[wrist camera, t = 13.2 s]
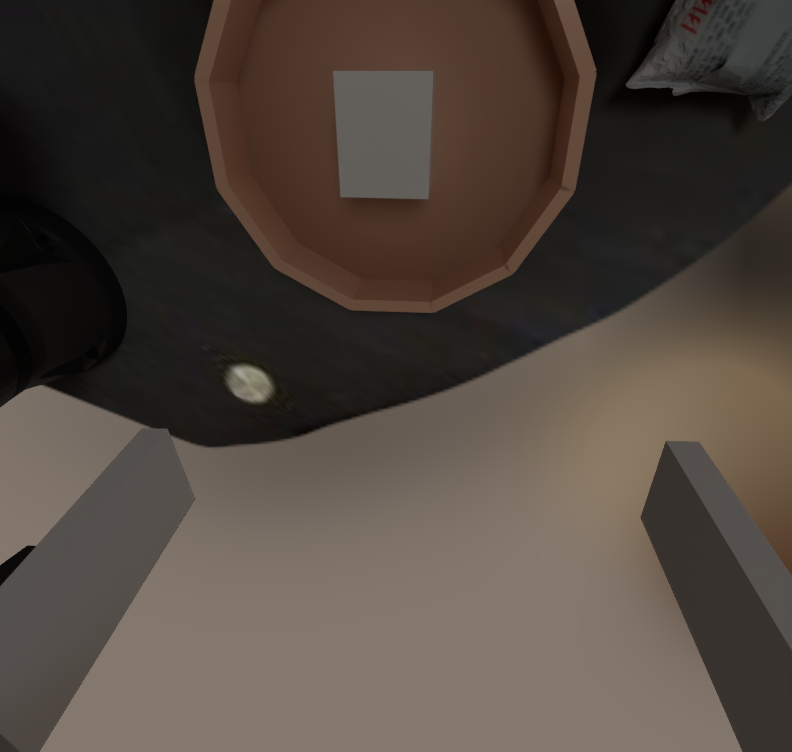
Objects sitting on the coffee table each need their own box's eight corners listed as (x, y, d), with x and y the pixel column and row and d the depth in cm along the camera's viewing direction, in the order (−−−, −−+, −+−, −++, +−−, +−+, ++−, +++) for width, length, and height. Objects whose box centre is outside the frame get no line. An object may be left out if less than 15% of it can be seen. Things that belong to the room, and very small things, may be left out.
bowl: (264, 281, 37) (240, 306, 33) (201, -91, 26) (152, -125, 22) (540, 289, 35) (551, 316, 31) (605, -112, 24) (637, -154, 19)
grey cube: (358, 178, 31) (340, 197, 26) (354, 73, 28) (332, 70, 23) (432, 180, 31) (428, 199, 26) (437, 73, 28) (433, 70, 23)
